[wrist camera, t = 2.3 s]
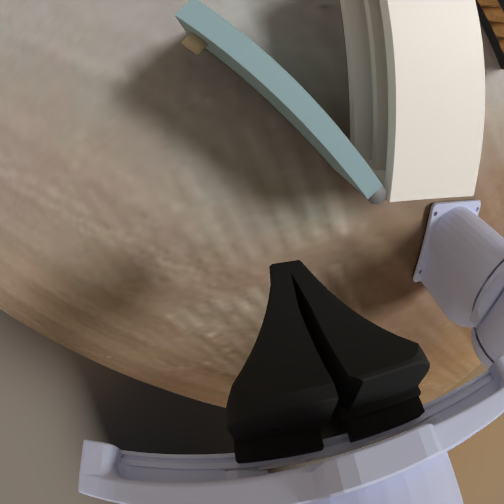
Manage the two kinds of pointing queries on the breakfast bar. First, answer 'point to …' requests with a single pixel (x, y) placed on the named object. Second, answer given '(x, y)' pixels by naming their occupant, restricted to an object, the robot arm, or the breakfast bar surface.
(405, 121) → the cabinet
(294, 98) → the door
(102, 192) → the breakfast bar surface
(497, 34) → the ammunition clip
